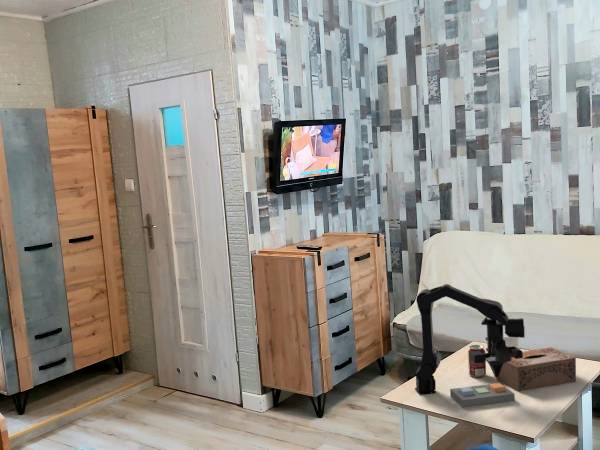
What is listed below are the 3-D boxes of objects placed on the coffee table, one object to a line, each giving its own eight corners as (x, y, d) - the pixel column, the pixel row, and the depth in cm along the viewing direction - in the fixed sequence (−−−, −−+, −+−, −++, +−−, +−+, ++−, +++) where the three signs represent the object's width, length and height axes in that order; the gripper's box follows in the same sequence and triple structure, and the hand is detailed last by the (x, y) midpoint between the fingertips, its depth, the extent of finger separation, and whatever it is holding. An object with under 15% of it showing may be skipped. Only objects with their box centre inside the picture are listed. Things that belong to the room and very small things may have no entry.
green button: (479, 400, 221) (478, 392, 221) (474, 396, 225) (474, 388, 225) (489, 399, 222) (489, 391, 222) (484, 395, 226) (484, 387, 226)
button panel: (462, 408, 217) (462, 400, 216) (450, 396, 228) (450, 388, 227) (514, 401, 220) (514, 393, 219) (500, 390, 231) (499, 383, 230)
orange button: (494, 395, 222) (494, 388, 222) (489, 391, 226) (489, 384, 226) (504, 394, 223) (504, 386, 222) (499, 390, 227) (499, 383, 226)
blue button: (463, 399, 220) (463, 391, 220) (459, 395, 224) (458, 387, 224) (473, 398, 221) (473, 390, 221) (469, 394, 225) (469, 386, 225)
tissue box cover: (518, 392, 228) (517, 367, 227) (496, 380, 242) (495, 355, 241) (576, 382, 235) (575, 357, 234) (551, 370, 249) (551, 347, 248)
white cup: (501, 359, 264) (501, 337, 263) (498, 353, 272) (498, 332, 271) (520, 359, 263) (519, 337, 262) (517, 353, 271) (516, 332, 270)
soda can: (486, 378, 244) (486, 349, 242) (469, 378, 245) (468, 349, 244) (485, 372, 250) (484, 344, 249) (468, 372, 252) (467, 344, 250)
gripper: (480, 345, 213) (482, 388, 214) (530, 339, 215) (531, 382, 217) (467, 336, 224) (469, 377, 225) (514, 331, 226) (515, 371, 228)
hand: (496, 377), depth 224 cm, fingers closed
